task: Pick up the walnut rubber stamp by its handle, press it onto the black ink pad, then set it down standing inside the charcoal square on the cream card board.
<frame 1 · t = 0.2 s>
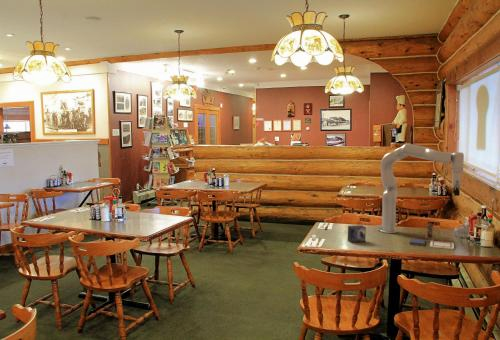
hand: (456, 194, 294), 31 cm above the table, tool pointing down, fingers open, 9 cm apart
small box: (356, 241, 288), on the table
pig figurine: (462, 237, 299), on the table
marked board: (442, 245, 277), on the table
ink pad: (417, 243, 283), on the table
stamp: (429, 240, 291), on the table
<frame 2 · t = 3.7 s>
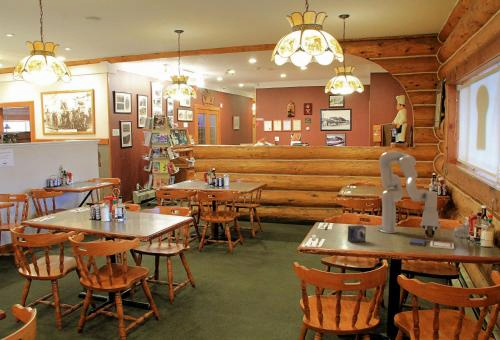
hand: (429, 235, 291), 3 cm above the table, tool pointing down, fingers closed on stamp, 3 cm apart
stamp: (429, 240, 291), on the table, touching gripper
everything else where it was.
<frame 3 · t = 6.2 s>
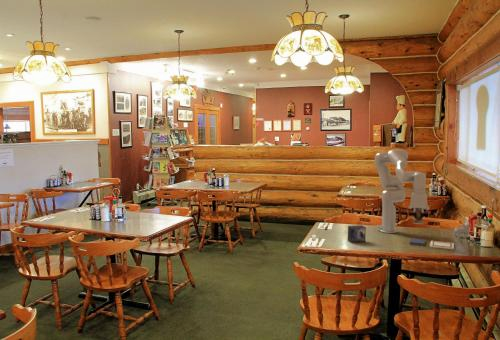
hand: (418, 218, 282), 17 cm above the table, tool pointing down, fingers closed on stamp, 3 cm apart
stamp: (418, 222, 282), point 14 cm above the table, touching gripper
everything else where it was.
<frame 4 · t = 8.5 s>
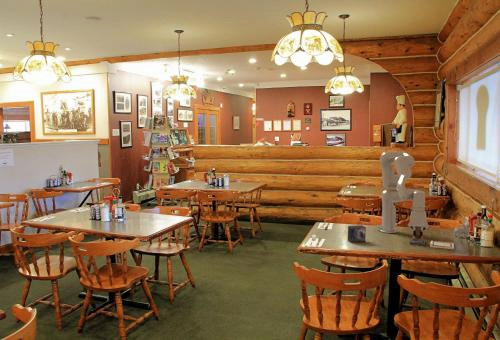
hand: (417, 236, 283), 5 cm above the table, tool pointing down, fingers closed on stamp, 3 cm apart
stamp: (417, 240, 283), point 1 cm above the table, touching gripper, ink pad
everything else where it was.
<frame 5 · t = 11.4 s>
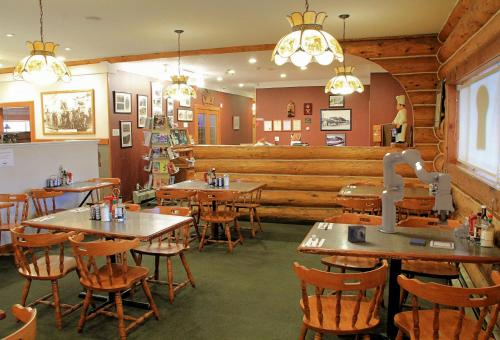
hand: (442, 220, 275), 17 cm above the table, tool pointing down, fingers closed on stamp, 3 cm apart
stamp: (442, 224, 276), point 14 cm above the table, touching gripper
everything else where it was.
when the fingers open (5 cm above the table, at t = 13.7 s): stamp drops 2 cm, resting on marked board.
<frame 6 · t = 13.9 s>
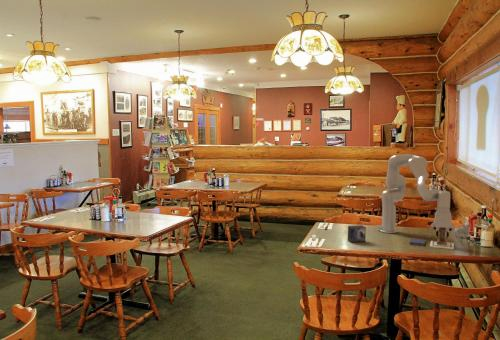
hand: (442, 237, 276), 6 cm above the table, tool pointing down, fingers open, 5 cm apart
stamp: (441, 244, 277), point 1 cm above the table, touching marked board
everything else where it was.
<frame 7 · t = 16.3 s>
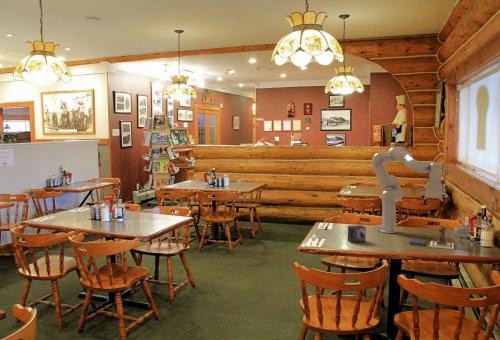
hand: (433, 205, 286), 24 cm above the table, tool pointing down, fingers open, 9 cm apart
nothing on the table moved.
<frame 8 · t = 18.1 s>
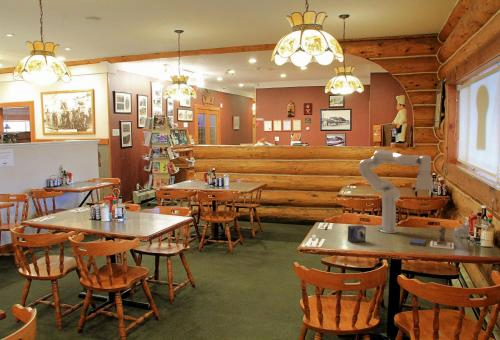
hand: (423, 197, 298), 28 cm above the table, tool pointing down, fingers open, 9 cm apart
nothing on the table moved.
at the end: stamp 0.1 cm off-centre on the marked board, point 0.8 cm above the marked board's base; stamp tilted 0°; the gripper is holding nothing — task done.
